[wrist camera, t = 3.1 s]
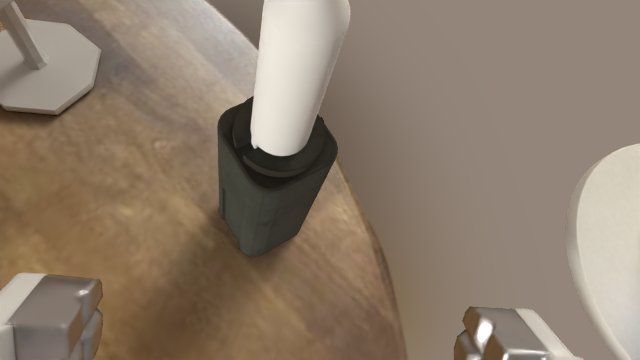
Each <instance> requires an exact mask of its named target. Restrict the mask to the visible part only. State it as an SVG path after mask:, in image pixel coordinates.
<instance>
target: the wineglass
mask: <svg viewBox="0 0 640 360" xmlns="http://www.w3.org/2000/svg"><path fill="white" fill-rule="evenodd" d="M0 21H1V23H2V24H3V26H4V28H5V30H4V31H2V32H0V105H1V106H2V107H3V108H4V109H6V110H8V111H17V112H29V113H41V114H53V115H58V114H59V113H61V112H62V111H63V110H65V109H66V108H67V107H69V106H70V105H71V104H73V103H74V102H75V101H77V100H78V99H79V98H81V97H82V96H83V95H85V94H86V93H87V92H89V91H90V90H91V89H93V87H94V82H95V78H96V73H97V69H98V64H99V60H100V55H101V50H100V49H99V48H98V47H97V46H95V45H94V44H93V43H92V42H90V41H89V40H88V39H87V38H85V37H84V36H83V35H81V34H80V33H79V32H78V31H76V30H75V29H74V28H73V27H71V26H70V25H69V24H63V23H55V22H46V21H38V20H29V19H24V17H23V15H22V13H21V12H20V10H19V8H18V6H17V5H16V3H15V0H0Z"/></svg>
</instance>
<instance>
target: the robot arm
mask: <svg viewBox="0 0 640 360" xmlns="http://www.w3.org/2000/svg"><path fill="white" fill-rule="evenodd" d="M102 297H103V293H102V282H101V281H100V279H94V278H84V277H73V276H62V275H51V274H49V275H47V274H40V273H25V272H22V273H19V274H16V275H15V276H14V277H13V278H12V279H11V280H10V281H9V282H8V283H7V285H6V286H5V287H4V288H3V289H2V290H1V291H0V360H93V359H94V356H95V354H96V352H97V350H98V346H99V343H100V339H101V335H102V327H103V314H102V313H101V312H100V311H99V310H98V308H97V306H98V304H99V303H100V301H101V299H102ZM463 323H464V326H465V328H466V330H464V331H463V332H462V333H461V334H460V335H458V336H457V339H456V343H455V346H454V360H584V359H583V358H581V357H574V356H573V355H572V353H571V352H570V351H569V350H568V349H567V348H566V347H565V345H564V344H563V343H562V342H561V341H560V340H559V339H558V337H557V336H556V335H555V334H554V333H553V332H552V331H551V329H550V328H549V327H548V326H547V325H546V324H545V322H544V321H543V320H542V319H541V318H540V317H539V316H538V314H537V313H536V312H534V311H532V310H530V309H512V308H511V309H503V308H485V307H469V308H468V310H467V311H466V312H465V315H464V318H463Z"/></svg>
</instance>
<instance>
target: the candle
mask: <svg viewBox="0 0 640 360" xmlns="http://www.w3.org/2000/svg"><path fill="white" fill-rule="evenodd" d="M349 23H350V6H349V3H348V0H264V6H263V15H262V24H261V34H260V43H259V52H258V62H257V71H256V80H255V90H254V96H252V97H251V98H249V99H247V100H246V101H245V102H244V103H242V104H239V105H237V106H235V107H232V108H230V109H228V110H227V111H225V112H224V113H223V114H222V115H221V117H220V119H219V121H218V167H219V208H220V216H221V218H222V219H225V220H226V222H227V223H228V225H229V227H230V228H231V230H232V232H233V233H234V235H235V237H236V238H237V240H238V242H239V249H240V250H241V251H242V252H243V253H244V254H245V255H248V256H251V257H256V256H260V255H262V254H264V253H266V252H268V251H269V250H271V249H273V248H275V247H276V246H278V245H280V244H281V243H283V242H285V241H287V240H288V239H290V238H292V237H294V236H295V235H296V234H297V233H298V232H299V230H300V228H301V226H302V224H303V222H304V220H305V218H306V216H307V214H308V212H309V210H310V208H311V206H312V204H313V202H314V200H315V198H316V196H317V194H318V192H319V190H320V188H321V186H322V184H323V183H324V181H325V179H326V177H327V175H328V173H329V171H330V169H331V167H332V165H333V163H334V161H335V159H336V156H337V153H338V147H337V142H336V141H335V138H334V137H333V135H332V134H331V133H330V131H329V130H328V128H327V127H326V125H325V124H324V120H323V119H322V117H319V115H318V111H319V108H320V105H321V102H322V100H323V97H324V94H325V91H326V88H327V85H328V82H329V80H330V77H331V74H332V71H333V68H334V65H335V63H336V60H337V57H338V54H339V51H340V48H341V46H342V43H343V40H344V37H345V34H346V32H347V29H348V26H349Z"/></svg>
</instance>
